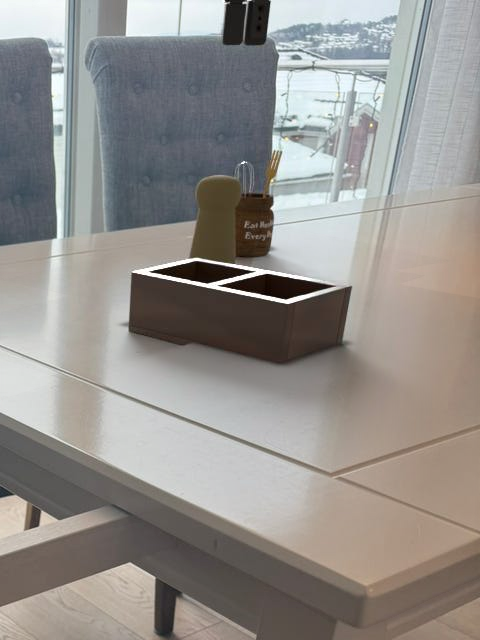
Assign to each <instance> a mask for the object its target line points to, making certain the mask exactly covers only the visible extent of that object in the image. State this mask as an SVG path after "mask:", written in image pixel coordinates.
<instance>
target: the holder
mask: <svg viewBox="0 0 480 640" xmlns="http://www.w3.org/2000/svg"><path fill="white" fill-rule="evenodd" d="M188 259H189V258H188ZM188 259H185V260H180V261H176V262H170V263H167V264H162V265H157V266H153V267H147V268H144V269H138V270H133V271H131V277H130V295H129V311H128V328H127V329H128V332H132V333H135V334H138V335H142V336H147V337H150V338H154V339H157V340H163V341H166V342H169V343H174V344H178V345H182V346H187V345H190V344H193V343H197V344H201V345H205V346H209V347H212V348H217V349H219V350H225V351H228V352H232V353H236V354H239V355H244V356H247V357H252V358H255V359H260V360H264V361H267V362H270V363H274V364H275V363H276V364H283V363H285V362H289V361H292V360H295V359H298V358H301V357H303V356H307V355H311V354H313V353H316V352H318V351H319V352H320V351H322V350H325V349H328V348H331V347H335V346H337V345H340V344H342V343H343V341H344V333H345V328H346V323H347V318H348V312H349V305H350V300H351V295H352V290H353V286H352V285H349V284H344V283H338V282H333V281H329V280H328V281H327V280H322V279H315V278H311V277H305V276H299V275H294V274H288V273H283V272H276V271H272V270H265V269H260V268H254V267H250V266H244V265H238V264H236V265H233V264H227V263H222V262H216V261H211V260H205V259H199V258H193V259H189V260H188Z"/></svg>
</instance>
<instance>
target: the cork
mask: <svg viewBox="0 0 480 640" xmlns="http://www.w3.org/2000/svg"><path fill="white" fill-rule="evenodd" d="M242 193H243V188H242V183H241V181H240V180H238V178H237V177H235V176H231V175H223V174H217V175H209V176H205V177H203V178H202V179H200V180H199V182H198V183H197V185H196V187H195V196H194V198H195V202H196V204H197V206H198V211H197V216H196V221H195V222H196V223H195V225H194V231H193V237H192V240H191V245H190V249H189V255H188V259H187V260H189V259H193V258H199V259H205V260H211V261H216V262H222V263H227V264H233V265H237V261H236V258H237V256H236V249H235V207H236V206H237V204H238V203H239V201H240V198H241V194H242Z"/></svg>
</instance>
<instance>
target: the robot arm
mask: <svg viewBox="0 0 480 640" xmlns="http://www.w3.org/2000/svg"><path fill="white" fill-rule="evenodd" d="M222 3H225V4H224V8H223V16H222V17H223V19H222V28H221V41H220V42H221V44H222V45H223V46H241V44H243V45H244V46H247V47H249V46H250V47H251V46H252V47H253V46H254V47H255V46H264V45H265V44H266V42H267V37H268V28H269V20H270V11H271V4H272V0H222Z"/></svg>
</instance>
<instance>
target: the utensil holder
mask: <svg viewBox="0 0 480 640" xmlns="http://www.w3.org/2000/svg"><path fill="white" fill-rule="evenodd" d="M282 155H283V150H279V149H277V150H276V149H274V150H273V151H272V154H271V158H270V161H269V164H268V167H267V170H266V173H265V177H266V178H267V182H266V185H265V189H264V191H263V193H262V192H253V189H254V187H252V186H254V184H255V181H252V180H253V177H255V173H254V170H252V171H251V169H254V167H253V165H252V164H251V163H250V162H248V161H242V162H240V163H239V164H238V166H236V167H235V170H234V173H236V171H237V173H236V174H237V179H238V180H239V179H240V177H239V174H240V173H239V170H240V167H241V165H242V164H243V166H242V167H243V168H242V173H243V174H242V176H243V178H242V180H243V185H244V192H242V194H241V198H240V201H239V203H238V204H237V206H236V207H235V249H236V257H242V258H243V257H245V258H250V257H252V258H254V257H262V256H267V255H268V254H269V252H270V251H271V246H272V241H273V232H274V226H275V225H274V224H275V214H274V213H275V212H274V211H273V210H272V209H271V208H272V207H273V206H274V205H275V198H274V197H275V196H274V195H273V194H270V193H268V192H269V188H270V184H271V181H272V180H273V179H275V178H276V177H277V176H276V175H277V173H278V170H279V165H280V162H281V159H282ZM245 165H247V166H248V170H249V171H250V175H249V178H250V179H249V181H250V183H249V192H246V189H247V188H246V182H245ZM249 165H250V166H249ZM237 168H238V169H237ZM239 181H240V180H239ZM252 182H253V184H252Z"/></svg>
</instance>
